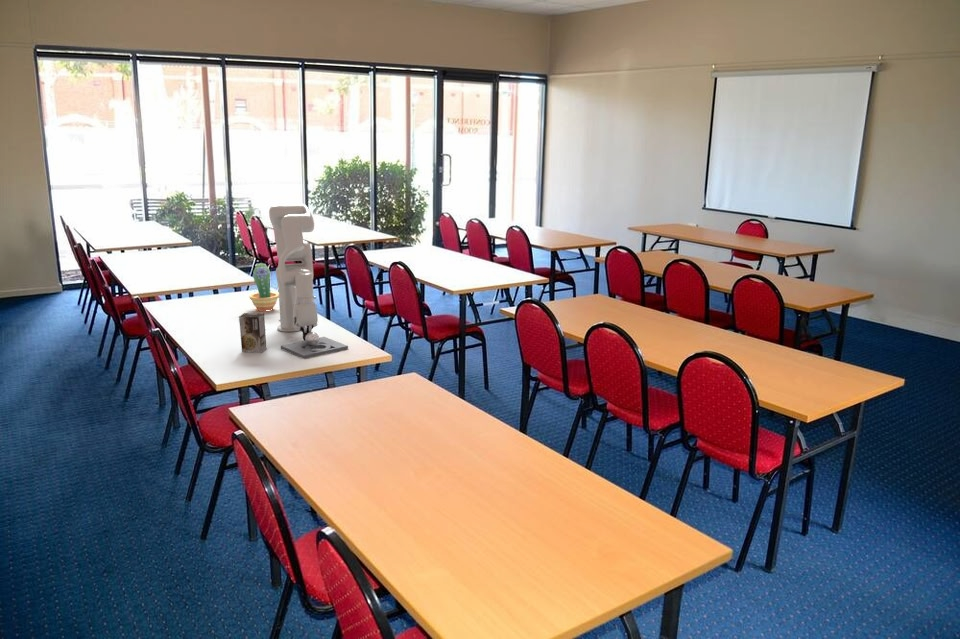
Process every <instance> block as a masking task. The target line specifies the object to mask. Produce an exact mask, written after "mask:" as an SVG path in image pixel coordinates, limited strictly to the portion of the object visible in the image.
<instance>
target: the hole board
mask: <svg viewBox="0 0 960 639" xmlns="http://www.w3.org/2000/svg"><path fill="white" fill-rule="evenodd" d="M280 350H283V351H286V352H288V353H290V354H291V355H294V356H296V357H299V358H301V359H303V360H305V359H311V358H315V357H319V356H325V355H328V354H332V353H337V352H341V351H347V350H349V345H348V344H344V343H341V342H339V341H337V340H334V339H331V338H329V337H326V336H321V337H319V341H318V343H317V344H316V345H309V344H307V343H306V341H304V340H302V341H301V340H299V341H295V342H290V343H286V344H282V345H280Z"/></svg>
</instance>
